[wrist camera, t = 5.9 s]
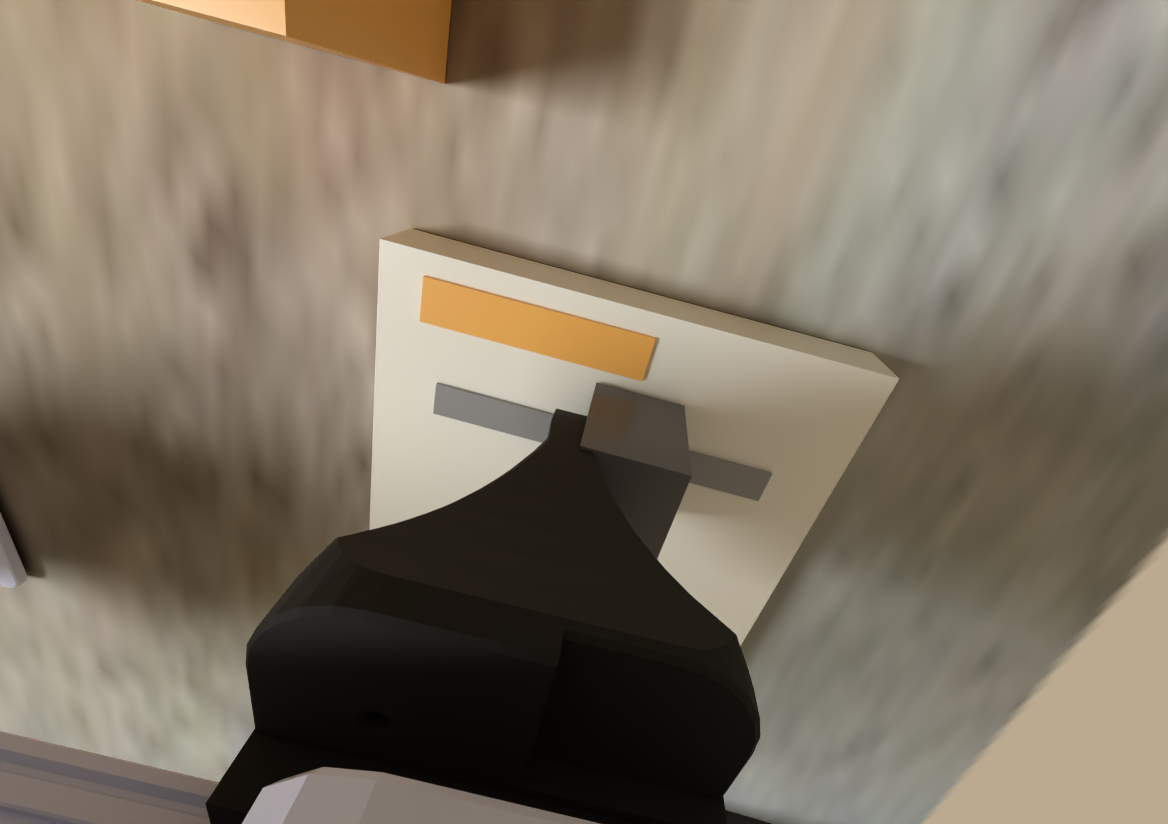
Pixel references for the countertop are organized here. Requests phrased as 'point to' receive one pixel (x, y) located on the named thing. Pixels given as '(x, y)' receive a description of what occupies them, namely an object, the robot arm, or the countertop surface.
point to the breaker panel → (623, 360)
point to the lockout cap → (343, 27)
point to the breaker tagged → (640, 457)
